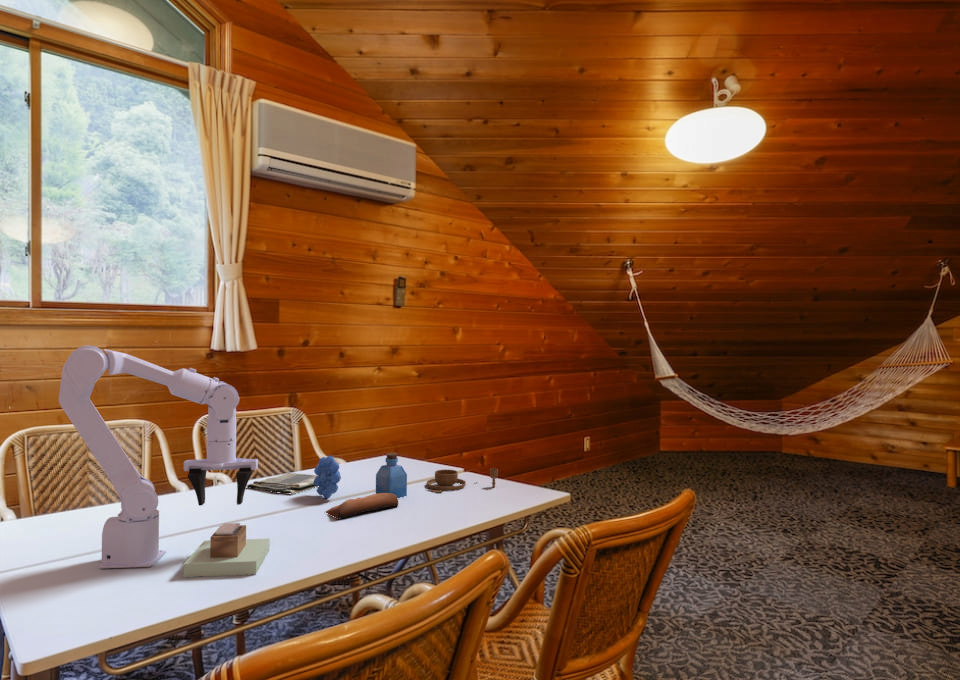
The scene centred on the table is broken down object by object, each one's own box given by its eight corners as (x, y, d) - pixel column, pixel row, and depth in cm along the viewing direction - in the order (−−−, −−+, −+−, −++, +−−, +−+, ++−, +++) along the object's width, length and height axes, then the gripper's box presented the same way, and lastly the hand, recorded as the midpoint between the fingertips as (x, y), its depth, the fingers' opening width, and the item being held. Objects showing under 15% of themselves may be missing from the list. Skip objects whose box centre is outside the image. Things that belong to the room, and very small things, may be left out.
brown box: (210, 558, 117) (210, 537, 117) (220, 545, 124) (220, 525, 124) (237, 557, 118) (237, 536, 118) (245, 544, 125) (246, 525, 125)
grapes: (351, 499, 170) (352, 456, 170) (330, 503, 165) (331, 459, 165) (328, 491, 178) (329, 450, 178) (307, 495, 173) (308, 453, 173)
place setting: (446, 479, 197) (446, 461, 197) (500, 488, 187) (501, 468, 187) (413, 490, 182) (413, 471, 182) (470, 500, 172) (470, 479, 172)
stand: (183, 577, 114) (183, 563, 114) (204, 552, 127) (204, 540, 127) (256, 574, 116) (256, 561, 116) (269, 550, 129) (269, 538, 129)
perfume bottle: (406, 496, 174) (407, 454, 174) (389, 500, 169) (390, 457, 169) (392, 492, 178) (393, 451, 178) (375, 496, 174) (376, 453, 174)
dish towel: (289, 477, 196) (289, 467, 196) (334, 484, 189) (334, 473, 189) (244, 490, 180) (244, 479, 180) (291, 498, 172) (291, 487, 172)
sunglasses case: (380, 500, 169) (387, 481, 166) (393, 518, 165) (401, 499, 162) (321, 512, 156) (329, 493, 154) (334, 532, 152) (341, 512, 150)
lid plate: (215, 539, 118) (215, 531, 118) (223, 530, 124) (223, 523, 124) (232, 539, 119) (232, 531, 119) (240, 530, 124) (240, 523, 124)
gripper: (178, 443, 125) (178, 510, 125) (253, 442, 127) (252, 508, 127) (190, 437, 132) (189, 500, 132) (260, 437, 134) (259, 499, 134)
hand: (220, 503), depth 130 cm, fingers open, 7 cm apart
